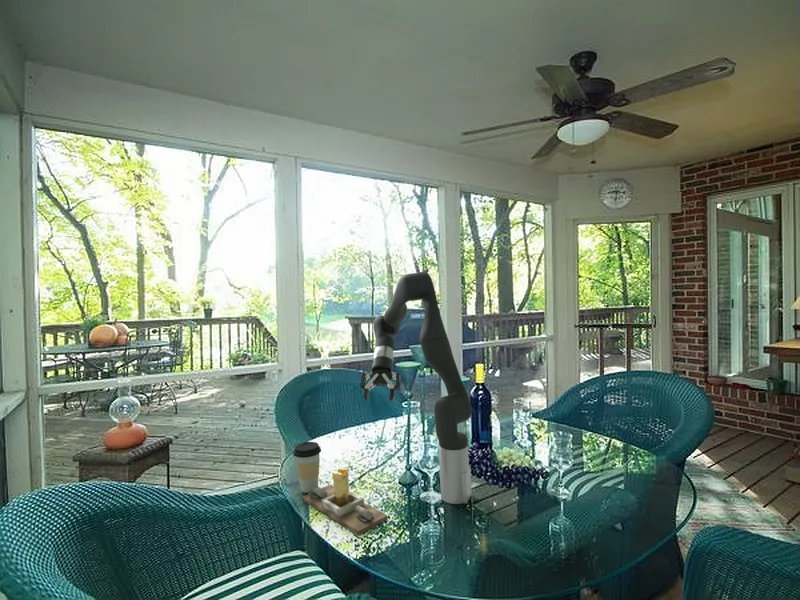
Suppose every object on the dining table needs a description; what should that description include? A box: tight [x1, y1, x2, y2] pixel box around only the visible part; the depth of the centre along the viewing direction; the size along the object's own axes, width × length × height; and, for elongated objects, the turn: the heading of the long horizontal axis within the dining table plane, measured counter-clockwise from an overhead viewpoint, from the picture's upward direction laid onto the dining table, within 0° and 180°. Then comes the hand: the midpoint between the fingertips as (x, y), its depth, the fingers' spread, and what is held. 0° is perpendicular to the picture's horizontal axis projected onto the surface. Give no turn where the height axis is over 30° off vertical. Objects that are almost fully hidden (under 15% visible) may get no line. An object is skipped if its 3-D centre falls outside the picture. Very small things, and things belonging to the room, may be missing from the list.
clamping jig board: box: [302, 484, 388, 536], centre depth 140 cm, size 29×11×4 cm, turn 44°
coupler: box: [331, 467, 350, 507], centre depth 140 cm, size 5×5×11 cm
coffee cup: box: [292, 441, 322, 494], centre depth 154 cm, size 9×9×15 cm
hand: (378, 400), depth 157 cm, fingers open, 8 cm apart
